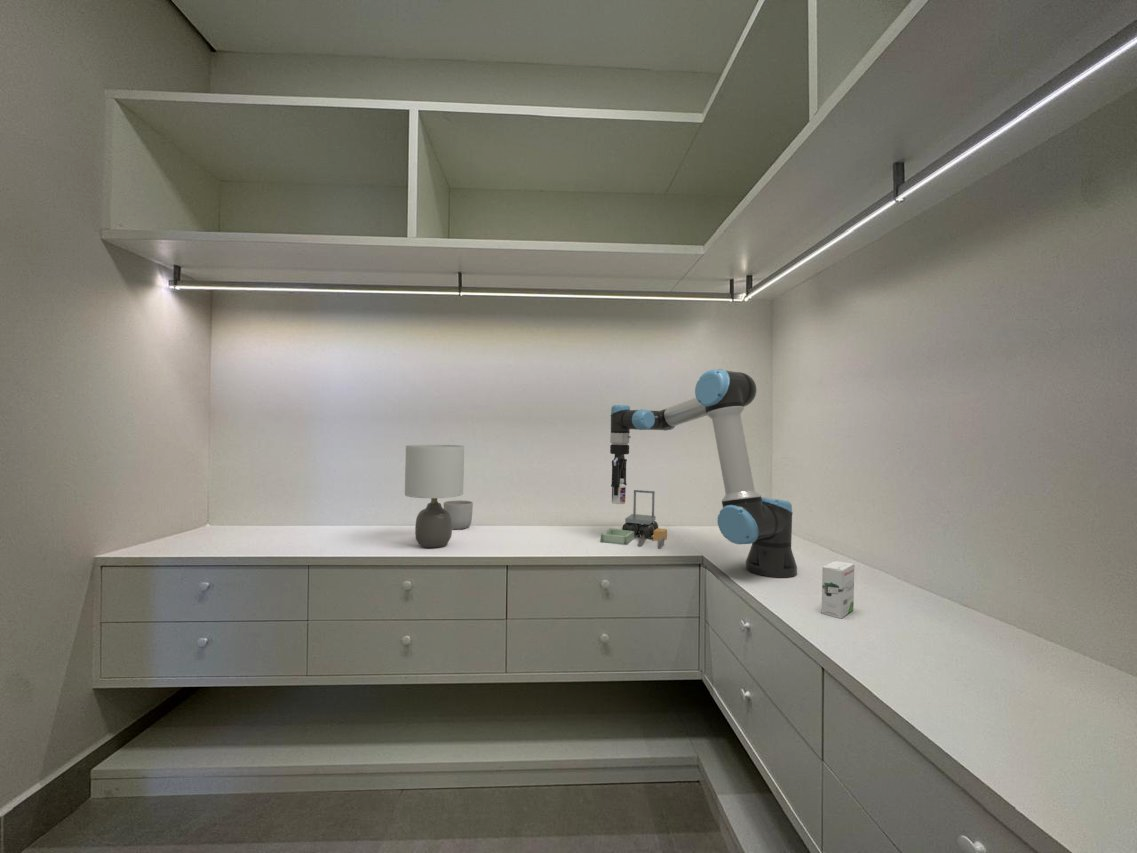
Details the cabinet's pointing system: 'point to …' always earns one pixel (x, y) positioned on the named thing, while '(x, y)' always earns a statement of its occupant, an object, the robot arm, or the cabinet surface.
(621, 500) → the pill bottle
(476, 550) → the cabinet surface
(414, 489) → the lamp
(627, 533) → the tray
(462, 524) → the planter
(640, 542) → the pin bracket
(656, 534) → the block
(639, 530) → the trolley
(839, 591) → the ink box
